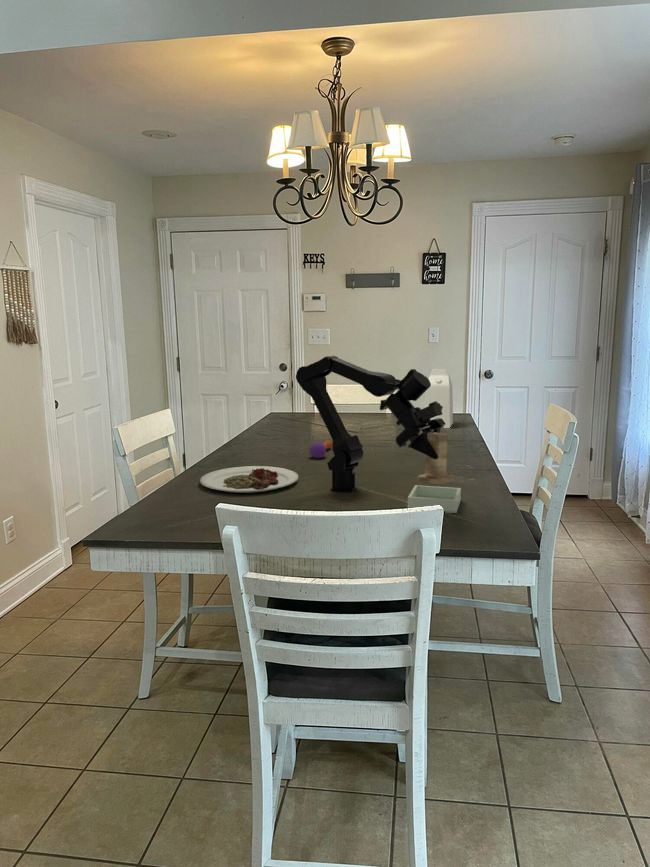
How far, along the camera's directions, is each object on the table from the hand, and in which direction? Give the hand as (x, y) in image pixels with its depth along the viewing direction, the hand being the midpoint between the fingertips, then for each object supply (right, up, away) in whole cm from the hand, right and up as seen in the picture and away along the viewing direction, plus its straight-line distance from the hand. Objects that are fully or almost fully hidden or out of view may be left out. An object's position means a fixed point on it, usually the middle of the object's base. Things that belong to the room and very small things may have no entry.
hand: (440, 456), depth 172 cm
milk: (+21, +9, +124) cm, 126 cm away
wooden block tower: (-1, -6, +2) cm, 7 cm away
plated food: (-54, -9, +29) cm, 62 cm away
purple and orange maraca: (-32, -2, +69) cm, 76 cm away
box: (-1, -13, +3) cm, 13 cm away
